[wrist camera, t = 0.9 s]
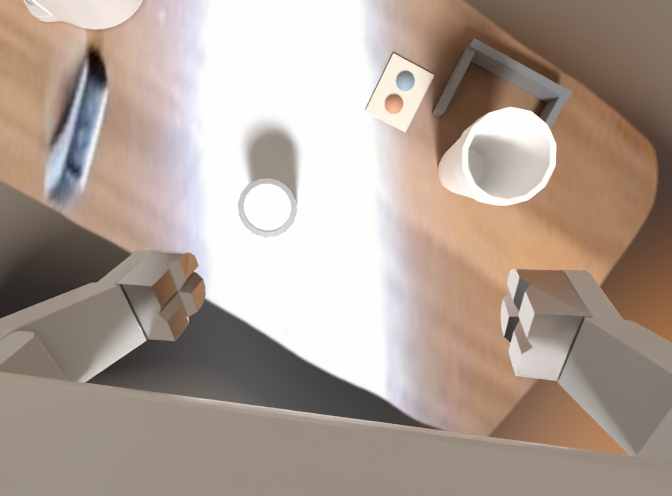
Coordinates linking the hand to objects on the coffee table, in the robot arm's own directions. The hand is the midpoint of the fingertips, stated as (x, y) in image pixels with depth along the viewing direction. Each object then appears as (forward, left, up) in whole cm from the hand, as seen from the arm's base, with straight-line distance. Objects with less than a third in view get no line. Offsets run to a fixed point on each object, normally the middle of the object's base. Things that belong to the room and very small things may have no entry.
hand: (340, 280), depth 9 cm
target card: (-8, +17, -39) cm, 43 cm away
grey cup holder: (+1, +26, -39) cm, 47 cm away
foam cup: (+5, +18, -40) cm, 44 cm away
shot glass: (-6, -5, -40) cm, 40 cm away
